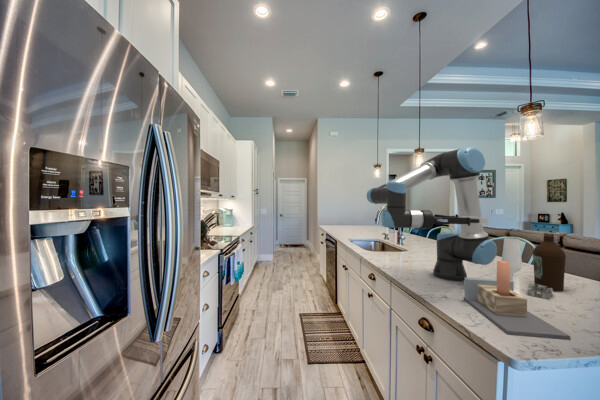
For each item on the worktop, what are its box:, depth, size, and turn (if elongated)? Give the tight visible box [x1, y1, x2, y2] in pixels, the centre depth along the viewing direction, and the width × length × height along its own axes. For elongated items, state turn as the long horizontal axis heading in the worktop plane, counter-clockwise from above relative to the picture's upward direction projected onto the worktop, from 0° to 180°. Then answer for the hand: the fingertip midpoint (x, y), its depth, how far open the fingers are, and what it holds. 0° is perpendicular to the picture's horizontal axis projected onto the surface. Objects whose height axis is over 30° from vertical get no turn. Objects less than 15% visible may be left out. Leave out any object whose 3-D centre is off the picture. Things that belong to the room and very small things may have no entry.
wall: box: [463, 277, 515, 301], centre depth 95 cm, size 2×16×8 cm, turn 81°
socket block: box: [477, 285, 528, 317], centre depth 88 cm, size 12×9×6 cm
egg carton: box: [526, 281, 554, 300], centre depth 104 cm, size 11×8×4 cm
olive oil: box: [532, 232, 567, 292], centre depth 113 cm, size 11×11×25 cm
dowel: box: [496, 260, 510, 296], centre depth 87 cm, size 4×4×16 cm
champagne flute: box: [501, 237, 523, 282], centre depth 102 cm, size 7×7×24 cm
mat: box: [463, 297, 571, 340], centre depth 84 cm, size 26×16×1 cm, turn 171°
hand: (481, 220), depth 98 cm, fingers open, 7 cm apart
